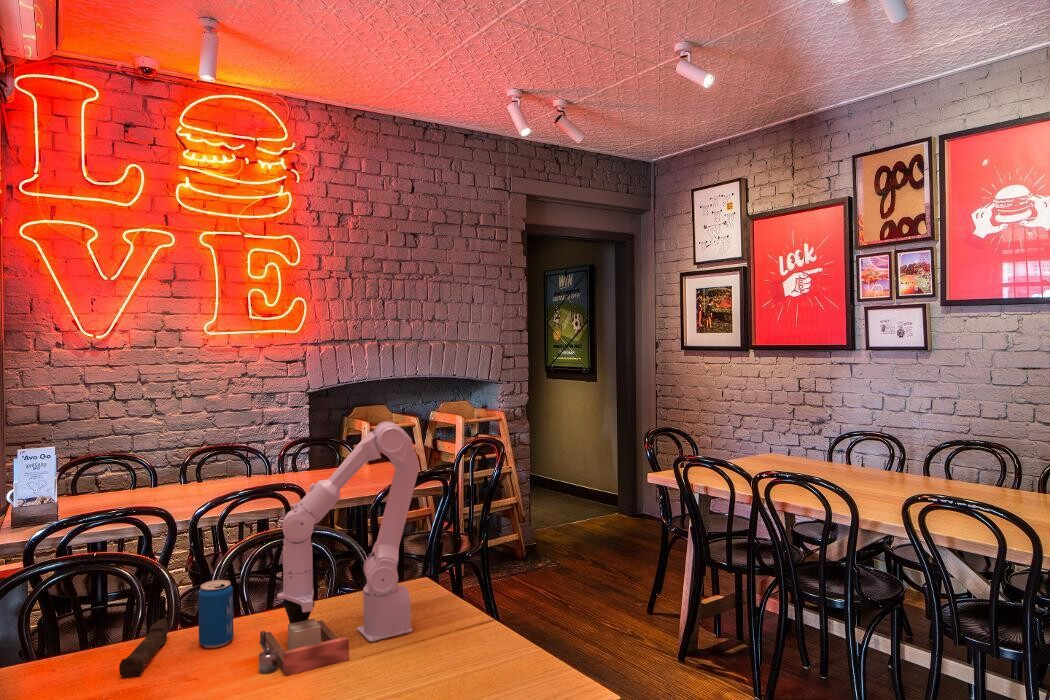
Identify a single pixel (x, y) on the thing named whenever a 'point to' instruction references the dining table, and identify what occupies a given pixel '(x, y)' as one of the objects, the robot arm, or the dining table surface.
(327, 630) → the bay
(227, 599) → the beverage can
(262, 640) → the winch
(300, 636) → the crate
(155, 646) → the dark brown rough bar
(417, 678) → the dining table surface
